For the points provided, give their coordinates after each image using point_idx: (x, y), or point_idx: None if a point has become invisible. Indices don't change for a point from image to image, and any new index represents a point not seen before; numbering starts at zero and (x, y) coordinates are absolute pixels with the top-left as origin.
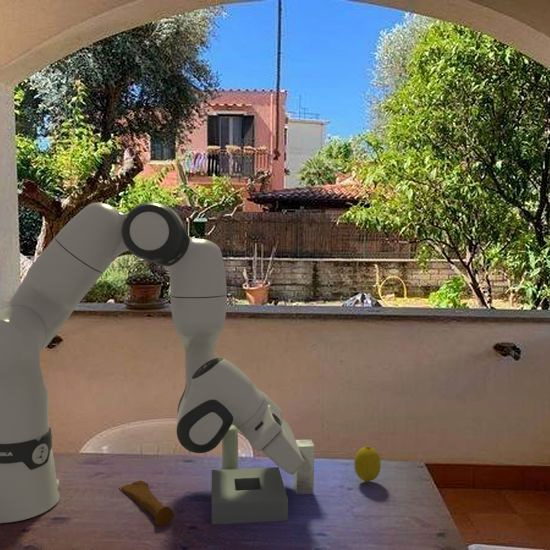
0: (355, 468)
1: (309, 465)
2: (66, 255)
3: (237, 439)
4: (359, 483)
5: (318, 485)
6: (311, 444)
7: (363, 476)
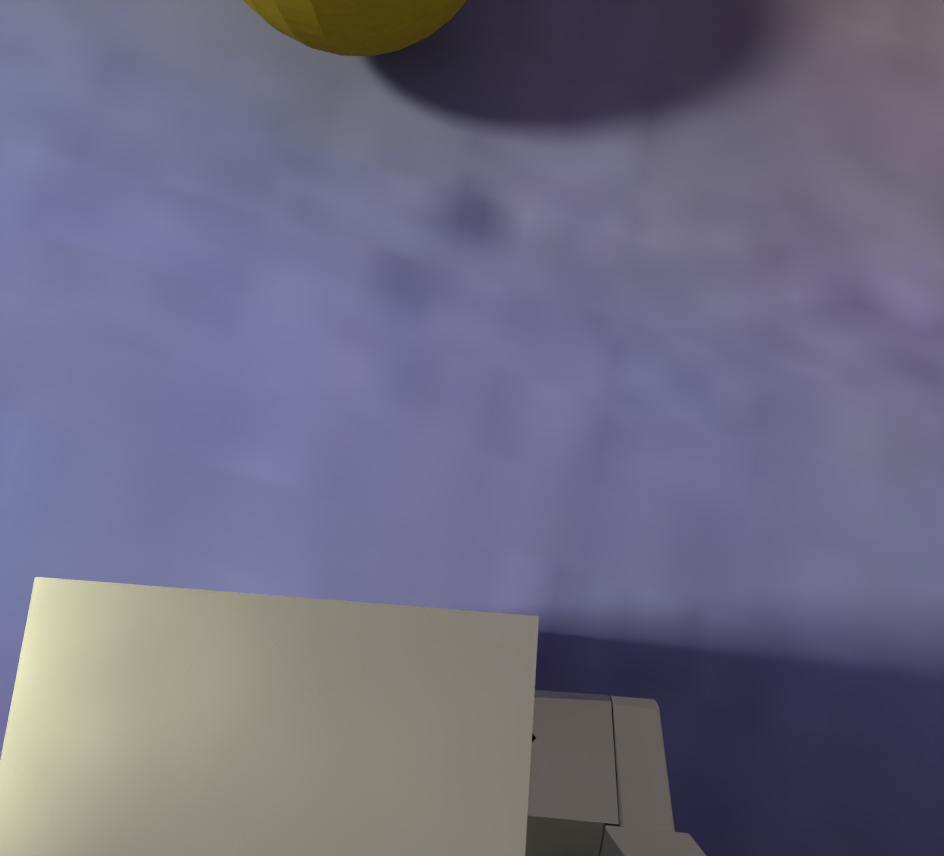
0: (356, 23)
1: (659, 757)
2: None
3: None
4: (383, 93)
5: (336, 519)
6: (415, 675)
7: (463, 4)
